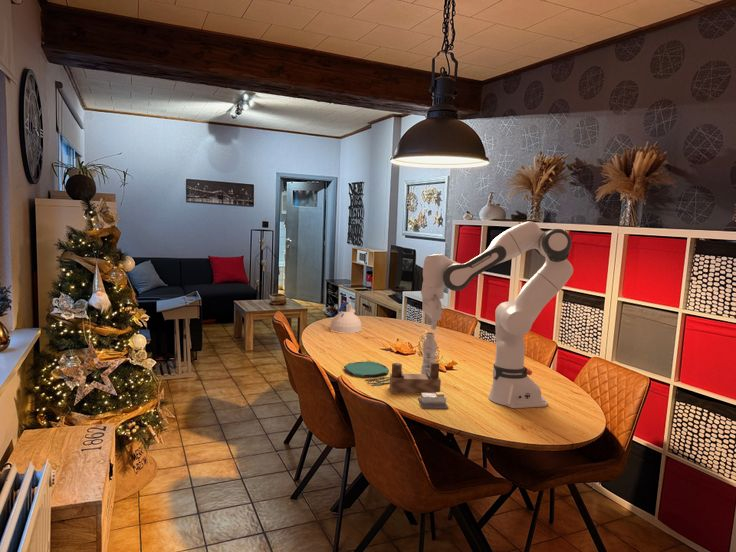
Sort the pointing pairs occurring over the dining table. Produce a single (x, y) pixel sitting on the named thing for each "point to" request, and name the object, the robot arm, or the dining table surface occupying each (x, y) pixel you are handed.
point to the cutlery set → (368, 371)
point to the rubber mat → (433, 406)
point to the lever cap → (433, 398)
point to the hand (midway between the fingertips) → (430, 326)
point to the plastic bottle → (428, 352)
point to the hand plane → (415, 380)
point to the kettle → (346, 321)
